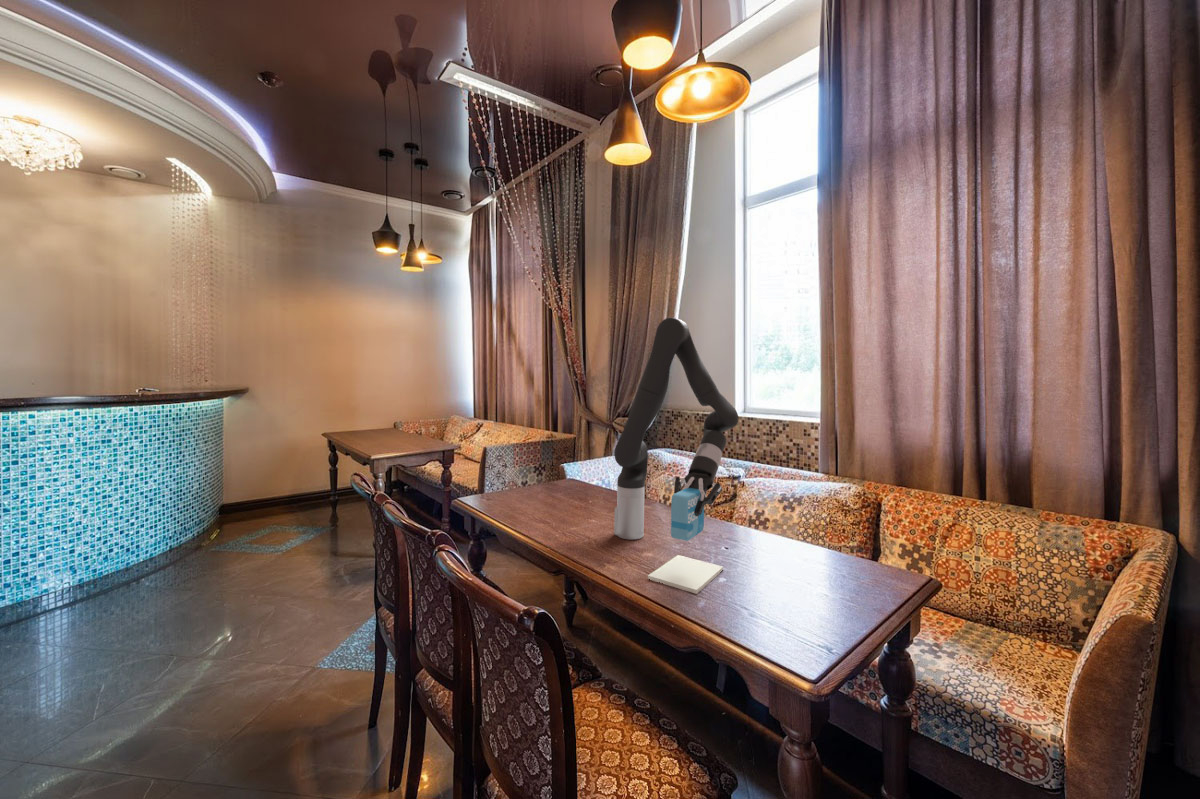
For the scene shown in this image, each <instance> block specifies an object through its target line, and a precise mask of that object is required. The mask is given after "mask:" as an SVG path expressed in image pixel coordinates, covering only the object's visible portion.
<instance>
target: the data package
mask: <svg viewBox="0 0 1200 799" xmlns="http://www.w3.org/2000/svg"><path fill="white" fill-rule="evenodd" d="M699 496H700V490H699V489H694V488H686V489H683V488H682V489H681V491H679V492H677V493H675V494H674V493H673V495H672V496H671V501H670V503H671V504H670V506H671V508H670V510H671V511H670V512H671V513H670V535H671V536H670V537H672V539H676V540H681V541H686V542H689V541H690V540H692V539H693V538H694V537H696V536H697V535H699V534H700V533H702V532H703V531H704V526H705V507H704V508H703V511H702V514H701V515H699V516H695V514H694V511H695V508H696V505H697V502H698V501H699Z"/></svg>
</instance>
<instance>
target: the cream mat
mask: <svg viewBox="0 0 1200 799" xmlns="http://www.w3.org/2000/svg"><path fill="white" fill-rule="evenodd" d="M722 570H723V571H724V566H722V565H718V564H716V563H715V564H714V563H711V562H707V561H703V560H700V559H695V558H692V557H687V556H683V555H679V554H677V555H676V556H675V557H673V558H672V559H670V560H668V561H667V562H666V563H664V564H662V566H660V567H658V568H657V569H656V570H654V571H652V572H651V573H649V574H648V575H647V580H649V579H650V581H653V582H656V583H659V582H660V584H662V583H663V585H665V586H669V587H672V588H675V589H679V590H683V591H685V592H688V593H693V594H695V595H697V594H698V593H700V592H701V591H702V590H703V589H704V588H705V587H706V586H708V585H709V584H710V583H711V582H712V581H713V580H714V579H715V578H716V577H718V576H719V575H720V574H721V573H720V572H721V571H722ZM723 571H722V572H723Z"/></svg>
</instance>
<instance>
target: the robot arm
mask: <svg viewBox="0 0 1200 799" xmlns="http://www.w3.org/2000/svg"><path fill="white" fill-rule="evenodd" d="M675 355H676V357H677V359H678V360H679V361H680V363H681V365H682V368H683V370H684V373H685V376H686V379H687V381H688V384H689V386H690V388H691V391H692V392H693V394H694V396H695V397H696V398H695V399H697V401H698V403H699V404H700V406H702V407H708V406H709V407H710V408H712V409H713V410H714V411H712V412H710V413H709V414H708V415H707V416H706V418H705V419H704V423H703V433H702V435H703V436H702V437H701V440H700V443H699V446H698V447H697V449H696V452H695V454H694V456H693V459H692V462H691V464H690V467H689V470H688V473H687V475H686V476H685V477H681V478H680V477H679V476H676V477H675V479H674V480H675V481H674V488H673V489H674V490H673V494H675V493H677V492H679V491H681V490H683V489H686V488H694V489H699V490H700V496H699V501H698V502H697V505H696V508H695V511H694V514H695V516H699V515H701V514H702V511H703V508H704V509H705V506H706V505H713V504H714V502H715V500H717V498H718V497H719V495H720V493H721V492H722V490H723V488H722V485H721V483H719V482H717V483H716V482H715V481H714V480H715V478H716V476H717V473H718V470H719V467H720V464H721V460H722V455H723V453H724V451H725V447H726V444H727V437H726V435H725V434H724V432H726V431H728V430H731V429H734V428H735V427H736V426H737V425H738V424H739V415H738V414H739V413H738V412H737V410H736V409H735V407H734V405H732V404H731V402H730V401H728V399H727V398H726V397H725V396H723V394H722V393H721V392H720V391H719V388H718V387H717V385H716V383H715V381H714V380H713V378H712V376H711V374H710V373H709V371H708V370H707V368H706V366H705V364H704V363H703V361H702V358H701V357H700V355H699V353H698V351H697V348H696V346H695V344H694V340H693V338H692V335H691V332H690V329H689V326H688V324H687V323H686V322H685V321H683V320H682V319H679V318H676V317H667V318H664V319H663V320H662V321H660V323H659V324H658V325H657V328H656V331H655V336H654V339H653V343H652V349H651V351H650V356H649V358H648V360H647V363H646V366H645V368H644V371H643V374H642V376H641V379H640V381H639V384H638V386H637V391H636V393H635V396H634V399H633V402H632V405H631V408H630V411H629V414H628V416H627V420H626V423H625V424H624V428H623V430H622V432H621V434H620V437H619V439H618V440H617V442H616V445H615V447H614V453H613V454H614V460H615V462H616V463H617V465H618V466H619V467H621V471H620V472H619V473H620V474H619V475H618V477H617V482H616V483H617V484H616V485H617V486H616V487H617V491H616V492H617V493H616V494H617V495H616V499H617V500H616V502H617V503H616V506H615V507H614V524H613V525H614V527H613V529H614V531H613V534H614V535H615V536H617V537H618V538H620V539H623V540H630V541H632V540H639V539H642V538H643V537H644V534H645V533H644V532H645V527H644V526H645V525H644V524H645V489H646V488H645V481H646V479H647V474H648V461H649V460H648V459H649V458H648V457H649V456H648V454H649V453H648V452H649V451H648V447H647V444H646V442H645V441H644V437H645V435H646V433H647V430H648V429H649V427H650V426H651V424H652V422H653V421H654V420H655V418H656V417H657V415H658V414H659V412H660V411H661V407H662V406H663V403H664V400H665V398H666V395H667V392H668V388H669V380H670V374H671V367H672V363H673V360H674V358H675ZM684 484H685V485H684ZM683 486H684V487H683ZM682 487H683V488H682ZM710 489H711V490H710ZM709 490H710V491H709ZM707 491H709V493H708V495H707Z"/></svg>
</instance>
